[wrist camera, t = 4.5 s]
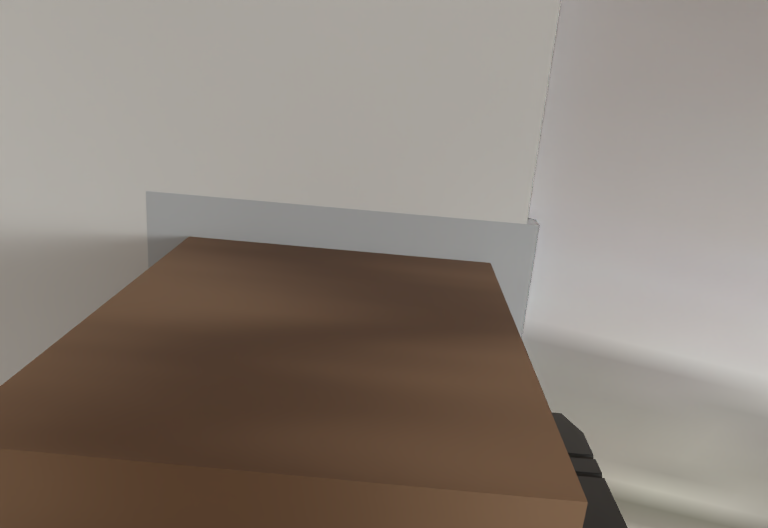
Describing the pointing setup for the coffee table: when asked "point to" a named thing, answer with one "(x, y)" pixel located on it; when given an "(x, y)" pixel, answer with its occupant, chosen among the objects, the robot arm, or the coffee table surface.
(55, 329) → the white board
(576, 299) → the coffee table surface
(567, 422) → the robot arm
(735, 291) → the coffee table surface
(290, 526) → the walnut block
